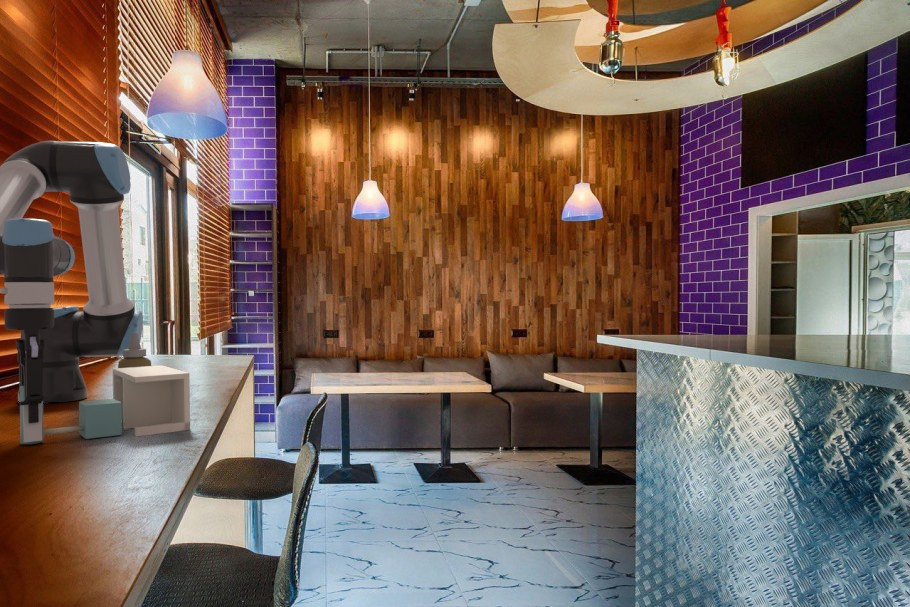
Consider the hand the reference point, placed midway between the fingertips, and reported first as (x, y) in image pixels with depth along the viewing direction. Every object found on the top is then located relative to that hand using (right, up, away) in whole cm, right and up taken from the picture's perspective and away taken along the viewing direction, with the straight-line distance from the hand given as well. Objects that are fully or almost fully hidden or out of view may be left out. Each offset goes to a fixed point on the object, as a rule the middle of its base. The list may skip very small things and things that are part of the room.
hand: (31, 438), depth 123 cm
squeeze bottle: (+5, -1, +30) cm, 30 cm away
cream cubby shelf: (+14, 0, +16) cm, 21 cm away
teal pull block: (+5, -1, +4) cm, 6 cm away
